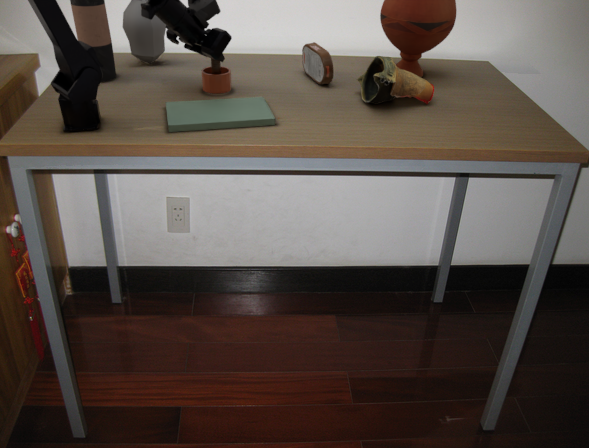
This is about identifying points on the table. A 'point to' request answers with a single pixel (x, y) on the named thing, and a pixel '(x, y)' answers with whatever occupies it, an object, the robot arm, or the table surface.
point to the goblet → (416, 27)
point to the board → (218, 114)
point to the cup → (216, 80)
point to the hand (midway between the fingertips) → (220, 58)
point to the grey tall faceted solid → (143, 33)
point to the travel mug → (95, 32)
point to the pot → (392, 83)
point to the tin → (317, 63)
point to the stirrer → (215, 67)
